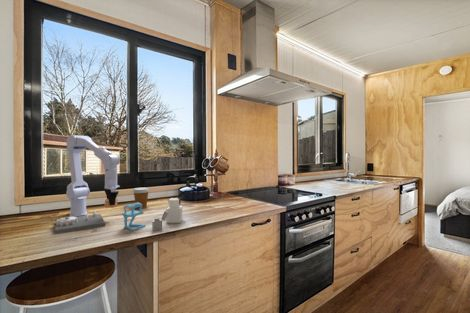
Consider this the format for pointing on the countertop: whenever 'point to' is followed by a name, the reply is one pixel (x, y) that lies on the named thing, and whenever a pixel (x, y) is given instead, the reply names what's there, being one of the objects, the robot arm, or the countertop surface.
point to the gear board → (79, 223)
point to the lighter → (158, 222)
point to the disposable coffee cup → (141, 196)
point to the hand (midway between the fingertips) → (111, 203)
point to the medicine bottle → (174, 211)
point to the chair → (133, 215)
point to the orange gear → (109, 204)
